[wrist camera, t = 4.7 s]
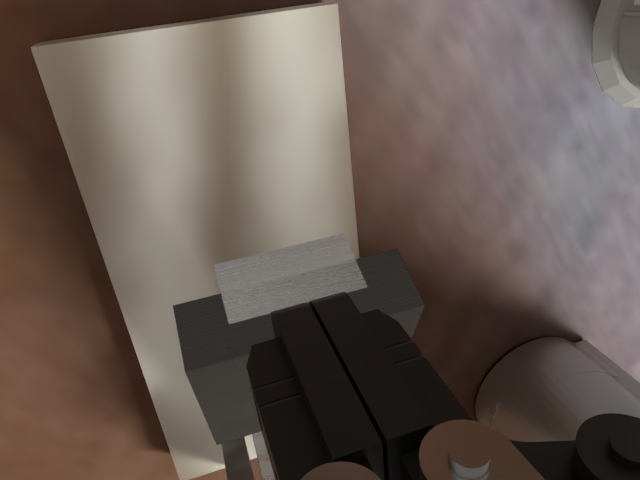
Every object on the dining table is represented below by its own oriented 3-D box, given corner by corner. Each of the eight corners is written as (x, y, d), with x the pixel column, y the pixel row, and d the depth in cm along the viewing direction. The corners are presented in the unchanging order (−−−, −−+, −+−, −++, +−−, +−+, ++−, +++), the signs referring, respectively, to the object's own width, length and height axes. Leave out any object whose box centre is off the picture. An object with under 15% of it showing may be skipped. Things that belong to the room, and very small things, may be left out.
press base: (323, 1, 24) (385, 8, 18) (361, 398, 35) (408, 484, 29) (39, 42, 21) (-1, 65, 15) (178, 455, 32) (187, 563, 26)
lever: (384, 223, 12) (425, 305, 11) (332, 455, 29) (346, 497, 28) (167, 276, 11) (185, 372, 10) (243, 485, 28) (253, 530, 27)
